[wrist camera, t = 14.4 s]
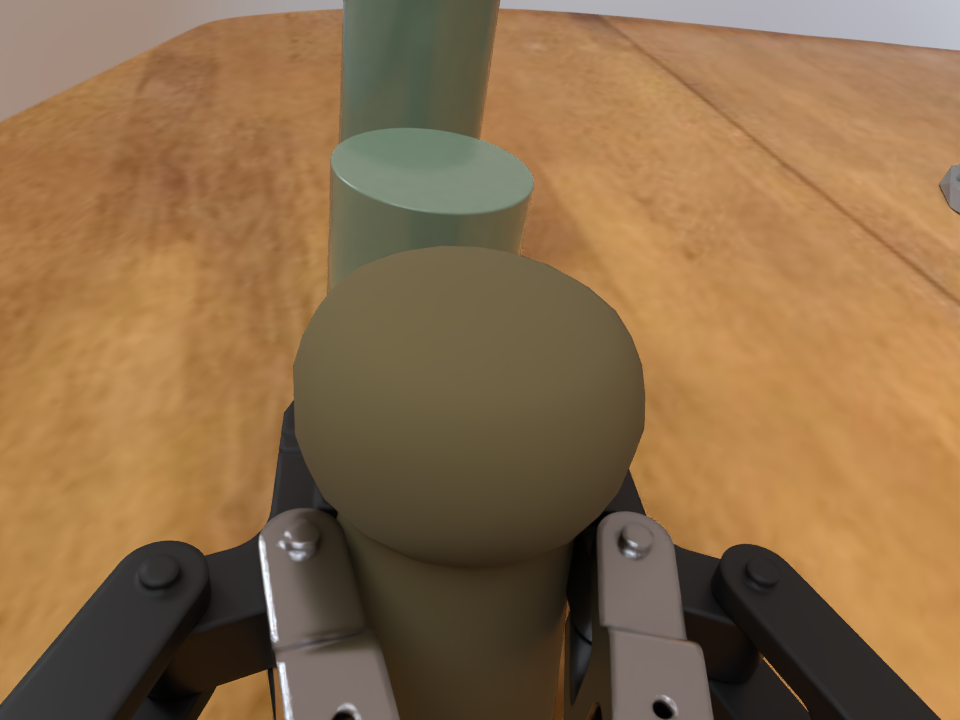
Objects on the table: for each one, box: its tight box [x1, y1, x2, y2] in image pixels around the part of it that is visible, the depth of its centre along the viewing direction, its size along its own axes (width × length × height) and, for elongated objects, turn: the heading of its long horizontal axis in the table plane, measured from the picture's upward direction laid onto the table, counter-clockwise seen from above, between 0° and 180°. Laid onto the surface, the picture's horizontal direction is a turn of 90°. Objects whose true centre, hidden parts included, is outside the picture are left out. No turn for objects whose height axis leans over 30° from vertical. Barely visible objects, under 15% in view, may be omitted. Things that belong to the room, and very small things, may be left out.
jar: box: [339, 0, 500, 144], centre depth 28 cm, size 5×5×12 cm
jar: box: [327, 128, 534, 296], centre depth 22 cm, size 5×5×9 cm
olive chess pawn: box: [293, 246, 645, 720], centre depth 14 cm, size 6×6×11 cm
